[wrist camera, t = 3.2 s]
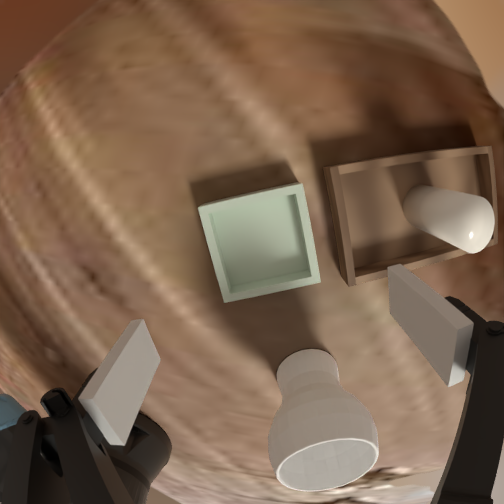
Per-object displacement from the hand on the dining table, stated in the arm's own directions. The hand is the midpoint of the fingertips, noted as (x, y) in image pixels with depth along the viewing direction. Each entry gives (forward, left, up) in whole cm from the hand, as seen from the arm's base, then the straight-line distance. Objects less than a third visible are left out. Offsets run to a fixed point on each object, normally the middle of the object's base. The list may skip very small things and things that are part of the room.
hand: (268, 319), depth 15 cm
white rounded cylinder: (+18, 0, -16) cm, 24 cm away
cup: (+2, -18, -17) cm, 25 cm away
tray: (+18, 0, -17) cm, 25 cm away
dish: (0, 0, -17) cm, 17 cm away
